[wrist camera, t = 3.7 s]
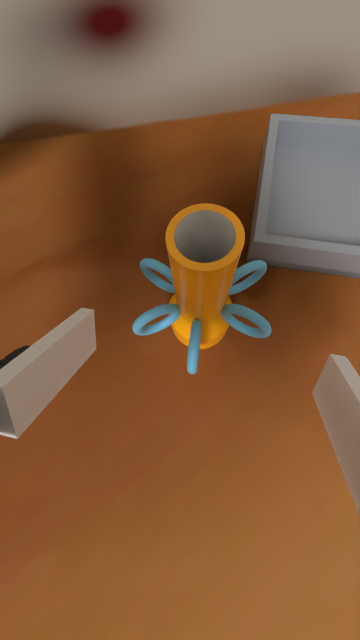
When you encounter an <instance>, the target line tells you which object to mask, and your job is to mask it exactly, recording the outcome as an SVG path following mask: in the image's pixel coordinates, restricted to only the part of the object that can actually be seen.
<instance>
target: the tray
mask: <svg viewBox="0 0 360 640" xmlns="http://www.w3.org/2000/svg"><path fill="white" fill-rule="evenodd" d="M255 260H262V261H264V262H265V263H266V264H267V265H270V266H277V267H284V268H291V269H298V270H305V271H312V272H319V273H326V274H333V275H340V276H346V277H353V278H360V120H349V119H336V118H323V117H311V116H298V115H285V114H272V113H271V116H270V119H269V123H268V127H267V131H266V134H265V138H264V142H263V146H262V153H261V160H260V167H259V174H258V182H257V189H256V196H255V203H254V210H253V217H252V224H251V231H250V239H249V246H248V253H247V260H246V262H252V261H255Z"/></svg>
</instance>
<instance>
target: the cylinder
mask: <svg viewBox="0 0 360 640" xmlns="http://www.w3.org/2000/svg"><path fill="white" fill-rule="evenodd" d="M165 239H166V246H167V251H168V257H169V262H170V268H171V269H170V268H169V267H168V266H166V265H165V264H163V263H161V262H159V261H157V260H155V259H151V258H144V259H142V260H141V261H140V264H139V267H140V270H141V272H142V273H143V274H144V276H145V277H146V278H147V279H148V280H149V281H151V282H152V283H153V284H155V285H156V286H158V287H159V288H161V289H163V290H165V291H167V292H170V293H174V294H173V295H172V297H171V299H170V302H169V303H168V304H163V305H159V306H157V307H154V308H152V309H150V310H148V311H146V312H145V313H143V314H142V315H140V316H139V317H138V318H137V319H136V320H135V322H134V323H133V326H132V329H133V332H134V333H135V334H137V335H142V336H143V335H150V334H153V333H156V332H158V331H161V330H163V329H165V328H167V327H168V326H170V325H171V326H172V329H173V332H174V334H175V335H176V337H177V338H178V340H179V341H180V342H182V343H183V344H184V345H186V346H188V358H187V371H188V372H189V373H190V374H195V373H196V372H197V368H198V359H199V350H200V349H205V348H209V347H212V346H214V345H216V344H217V343H218V342H220V341H221V340H222V338H223V337H224V335H225V334H226V332H227V329H228V327H229V325H230V326H232V327H233V328H235V329H236V330H238V331H240V332H242V333H244V334H246V335H249V336H251V337H255V338H266V337H268V336H269V335H270V334H271V331H272V329H271V326H270V324H269V322H268V321H267V320H266V319H265V318H264V317H263V316H261V315H260V314H258V313H257V312H255V311H253V310H252V309H250V308H247V307H245V306H242V305H238V304H232V302H231V299H230V297H229V295H233V294H236V293H239V292H241V291H243V290H245V289H247V288H248V287H250V286H251V285H253V284H254V283H256V282H257V281H258V280H259V279H260V278H261V277H262V276H263V275H264V274H265V272H266V270H267V264H266V263H265V262H264V261H262V260H255V261H252V262H249V263H246V264H244V265H242V266H241V267H239V268H237V265H238V262H239V259H240V256H241V252H242V249H243V246H244V242H245V232H244V228H243V225H242V223H241V221H240V220H239V218H238V217H237V216H236V215H235V214H234V213H233V212H231V211H230V210H228V209H227V208H225V207H222V206H219V205H216V204H209V203H203V204H196V205H192V206H189V207H187V208H185V209H183V210H181V211H180V212H178V213H177V214H176V215H175V216H174V217H173V218H172V220H171V221H170V223H169V225H168V227H167V230H166V236H165ZM150 268H151V269H153V270H155V271H157V272H159V273H161V274H162V275H163V276H165V277H166V278H167V279H168V280H169V281H170V282H171V283H172V284H170V283H167V282H165V281H164V280H162V279H161V278H159V277H158V276H157V275H155V274H154V273H153V272H152V271H151V269H150ZM236 268H237V269H236ZM253 271H255V272H254V273H253V274H252V275H251V276H249V277H248V278H247V279H245V280H244V281H242V282H240V283H238V284H236V285H233V284H234V283H235V282H236V281H238V280H239V279H240V278H242V277H243V276H245V275H247V274H249V273H251V272H253ZM232 285H233V286H232ZM165 314H169V315H168V316H167V317H166V318H164V319H163V320H161V321H159V322H157V323H155V324H152V325H149V326H144V325H146V324H147V323H148V322H150V321H151V320H153V319H155V318H157V317H159V316H162V315H165ZM233 314H236V315H239V316H241V317H244V318H246V319H248V320H249V321H251V322H253V323H254V324H255V325H257V326H258V327H259V328H260V329H257V328H253V327H250V326H248V325H246V324H244V323H242V322H240V321H239V320H237V319H236V318H235V317H234V316H233Z"/></svg>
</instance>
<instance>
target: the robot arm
mask: <svg viewBox="0 0 360 640" xmlns="http://www.w3.org/2000/svg"><path fill="white" fill-rule="evenodd" d="M95 350H96V335H95V318H94V310H92V309H87V308H81V309H79V310H78V311H77V312H75V313H74V314H73V315H71V316H70V317H69V318H67V319H66V320H65V321H63V322H62V323H61V324H59V325H58V326H57V327H55V328H54V329H53V330H52V331H50V332H49V333H48V334H46V335H45V336H44V337H42V338H41V339H40V340H38V341H37V342H36V343H34V344H33V345H32V346H24V347H21V348H19V349H17V350H14V351H13V352H12V353H10V354H9V355H7V356H6V357H5V359H2V360H0V435H4V436H8V437H12V438H15V439H18V438H19V437H20V436H21V434H22V433H23V432H24V431H25V430H26V429H27V428H28V426H29V425H30V424H31V423H32V422H33V421H34V420H35V418H36V417H37V416H38V415H39V414H40V413H41V412H42V410H43V409H44V408H45V407H46V406H47V405H48V404H49V402H50V401H51V400H52V399H53V398H54V397H55V396H56V394H57V393H58V392H59V391H60V390H61V389H62V388H63V386H64V385H65V384H66V383H67V382H68V381H69V380H70V379H71V377H72V376H73V375H74V374H75V373H76V372H77V371H78V369H79V368H80V367H81V366H82V365H83V364H84V363H85V361H86V360H87V359H88V358H89V357H90V356H91V355H92V353H93V352H94V351H95ZM312 395H313V397H314V400H315V402H316V405H317V408H318V410H319V413H320V415H321V418H322V420H323V423H324V426H325V428H326V431H327V433H328V436H329V438H330V441H331V443H332V446H333V449H334V451H335V454H336V456H337V459H338V461H339V464H340V466H341V469H342V472H343V474H344V477H345V479H346V482H347V484H348V487H349V490H350V492H351V495H352V497H353V500H354V502H355V505H356V507H357V510H358V513H359V515H360V377H359V375H358V374H357V372H356V371H355V369H354V368H353V366H352V365H351V363H350V362H349V361H348V359H347V358H346V357H345V356H340V355H334V354H330V356H329V358H328V360H327V362H326V364H325V366H324V368H323V370H322V373H321V375H320V377H319V379H318V381H317V383H316V385H315V387H314V390H313V392H312Z"/></svg>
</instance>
